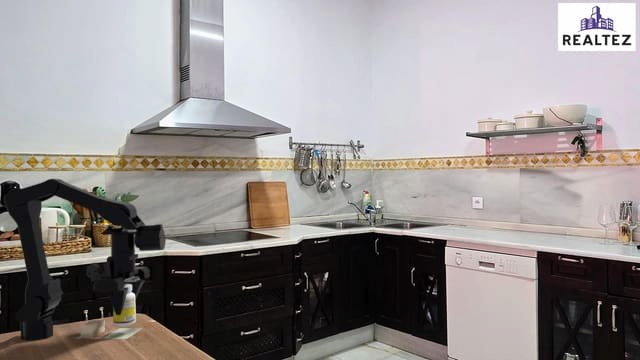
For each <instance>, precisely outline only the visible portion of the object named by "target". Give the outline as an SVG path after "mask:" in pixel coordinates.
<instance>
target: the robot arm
mask: <svg viewBox="0 0 640 360" xmlns="http://www.w3.org/2000/svg"><path fill="white" fill-rule="evenodd" d="M53 197H58V198H60V199H62V200H65V201H68V202H70V203H73V204H74V205H77V206H80V207H83V208H84V209H87V210H90V211H93V212H94V213H96V214H97V215H98V216H100V218H102V219H103V220H104V221H106V222H107V223H110V225H107V227H106V229H105V230H103V231H102V232H101V234H102V235H103V236H105V235H106V236H109V235H110V256H107V258H106V262H105V263H101V264H98V263H97V262H95V263H91V264H89V265H87V267H86V277H88V278H90V279H91V282H93V286H92V287H93V292H101V293H105V294H106V295H107V296H108V298H109V300H110V302H111V305H112V309H113V308H114V310H115V313H116V315H121V312H122V309H123V306H124V302H125V299H126V295H127V292H128V288H124V286H125V284H131V285H132V291H131V292H132V293H134V294H135V300H137V297H138V295H139V293H140V290H141V289H142V287H143V285H144V283H145V281H146V280H145V279H147V278H150V277H151V275H150V273H151V271H150V270H151V269H149V268H148V267H147V266H136V259H138V258H139V253H136V249H138V250H139V251H141V252H147V251H148V252H149V251H154V252H155V251H164V250H165V248H166V234H165V231H164V228H163V225H164V224H161V223H157V224H148V225H147V224H145V222H144V221H143V220H142V219H141V217H140V216H139V215H138V211H137V208H136V206H135V205H134V204H132V203H131V202H127V201H121V200H118V199H117V200H116V199H110V198H105V197H102V196H100V195H98V194H95V193H92V192H90V191H88V190H85V189H82V188H81V187H78V186H75V185H73V184H70V183H68V182H66V181H65V180H63V179H60V178H50V179H46V180H45V181H43V182H39V183H36V184H33V185H30V186H26V187H24V188H23V187H19V188H18V187H17V188H15V187H14V188H12V189H10V190H9V191H8V192H7V193H6V194H5V195H4V197H3V199H4V201H3V202H4V205H5V208H6V210H7V213H8V215H9V216H10V217H11V219H13V220H12V221H14V222H15V224H16V226H17V230H18V234H19V240H20V245H21V246H20V247H21V249H22V255H23V259H24V265H25V270H26V275H27V284H26V287H25V291H24V298H25V300H24V301H25V302H24V305H23V306H22V307H20V308H19V310H17V312H15V314H14V317H15V319H16V322H17V323H20V340H23V341H26V342H31V341H32V342H33V341H39V340H46V339H50V338H51V337H53V336H54V322H53V321H52V314H54V311H55V309H56V307H57V306H58V305H59V303H60V302H61V301H62V295H63V294H64V291H63V290H62V288H61V287H62V286H61V279H60V278H56V279H54V278H53V276H52V275H51V274H50V271H49V266H48V261H47V256H46V251H45V246H44V241H43V236H42V231H41V226H40V223H39V222H40V221H39V220H40V217H41V213H42V207H43V206H42V202H45V201H49V200H50V199H52V198H53ZM135 248H136V249H135ZM140 278H143V279H140Z"/></svg>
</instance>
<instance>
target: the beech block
mask: <svg viewBox="0 0 640 360" xmlns="http://www.w3.org/2000/svg"><path fill="white" fill-rule="evenodd" d="M105 320H106V319H91V320H90V321H88V322H86V323H85V324H82V325H80V336H81V338H94V337H95V336H97V335H99V334H100V333H102V332H104V331H105V328H106V327H105V326H106V324H105V322H106V321H105Z"/></svg>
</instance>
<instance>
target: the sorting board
mask: <svg viewBox="0 0 640 360" xmlns="http://www.w3.org/2000/svg"><path fill="white" fill-rule="evenodd" d="M142 329H143V327H119V328H118V327H105V331H104V332H102V333H100V334H99V335H97V336H95V337H94V338H81V335H80V336H78V337H76V338H75V340H101V339H102V340H127V339H129V338H131V337H132V336H134V335H135V334H136V333H138V332H140V331H141V330H142Z"/></svg>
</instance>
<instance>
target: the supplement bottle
mask: <svg viewBox="0 0 640 360" xmlns="http://www.w3.org/2000/svg"><path fill="white" fill-rule="evenodd" d="M124 288H128V292H127V295H126V299H125V302H124V306H123V309H122V312H121V315H116V313H115V310H114V308H113V307H112V316H113V325H115V326H116V327H124V326H130V325H133V324H135V322H136V321H137V313H136V312H137V311H136V309H137V307H136V306H137V305H136V299H135V294H134V293H132V292H131V291H132V285H131V284H125V286H124Z"/></svg>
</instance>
